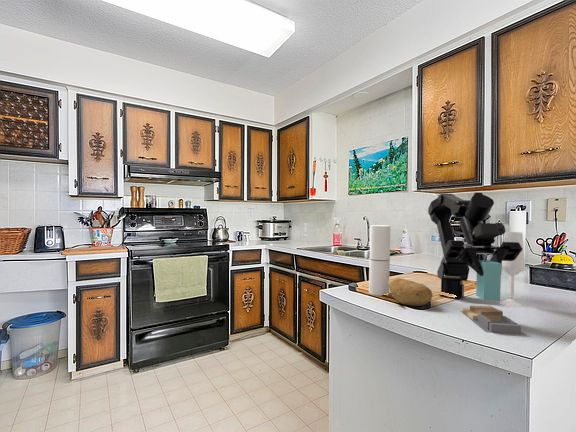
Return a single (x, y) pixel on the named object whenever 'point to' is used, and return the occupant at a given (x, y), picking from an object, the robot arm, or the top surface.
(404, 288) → the potato
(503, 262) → the champagne flute
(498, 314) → the offcut stack
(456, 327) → the top surface
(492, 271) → the teal slat
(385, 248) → the cylindrical container
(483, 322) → the slotted grey block
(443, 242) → the robot arm
